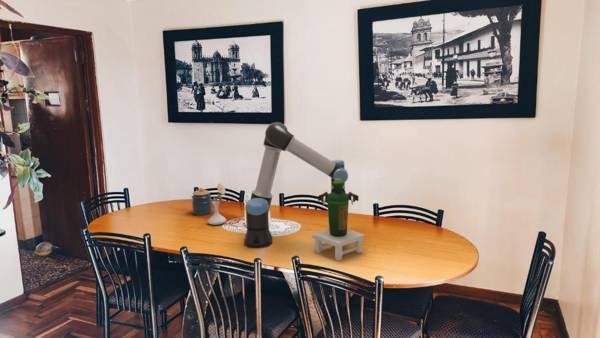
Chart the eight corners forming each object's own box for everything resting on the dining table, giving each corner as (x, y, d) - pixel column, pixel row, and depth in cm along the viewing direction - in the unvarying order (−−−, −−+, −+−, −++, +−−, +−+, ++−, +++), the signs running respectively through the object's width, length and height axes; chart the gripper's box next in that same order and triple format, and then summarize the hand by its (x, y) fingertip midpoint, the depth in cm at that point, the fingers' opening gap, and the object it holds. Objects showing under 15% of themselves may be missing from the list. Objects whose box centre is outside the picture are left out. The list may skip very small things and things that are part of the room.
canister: (191, 212, 291) (189, 187, 288) (209, 209, 296) (208, 185, 293) (194, 216, 279) (193, 190, 276) (214, 214, 285) (212, 188, 282)
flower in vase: (216, 227, 256) (214, 186, 252) (203, 224, 263) (201, 184, 258) (232, 222, 266) (230, 183, 262) (219, 219, 273) (217, 181, 269)
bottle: (350, 237, 205) (349, 181, 200) (328, 238, 205) (327, 181, 200) (348, 230, 216) (347, 176, 211) (327, 231, 216) (326, 177, 211)
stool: (338, 261, 199) (338, 243, 198) (313, 251, 213) (312, 234, 211) (364, 251, 211) (364, 234, 209) (338, 242, 224) (338, 226, 223)
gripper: (361, 198, 226) (364, 209, 205) (314, 199, 228) (312, 209, 207) (361, 185, 224) (364, 194, 204) (314, 185, 227) (312, 194, 206)
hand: (338, 202), depth 205 cm, fingers open, 13 cm apart
